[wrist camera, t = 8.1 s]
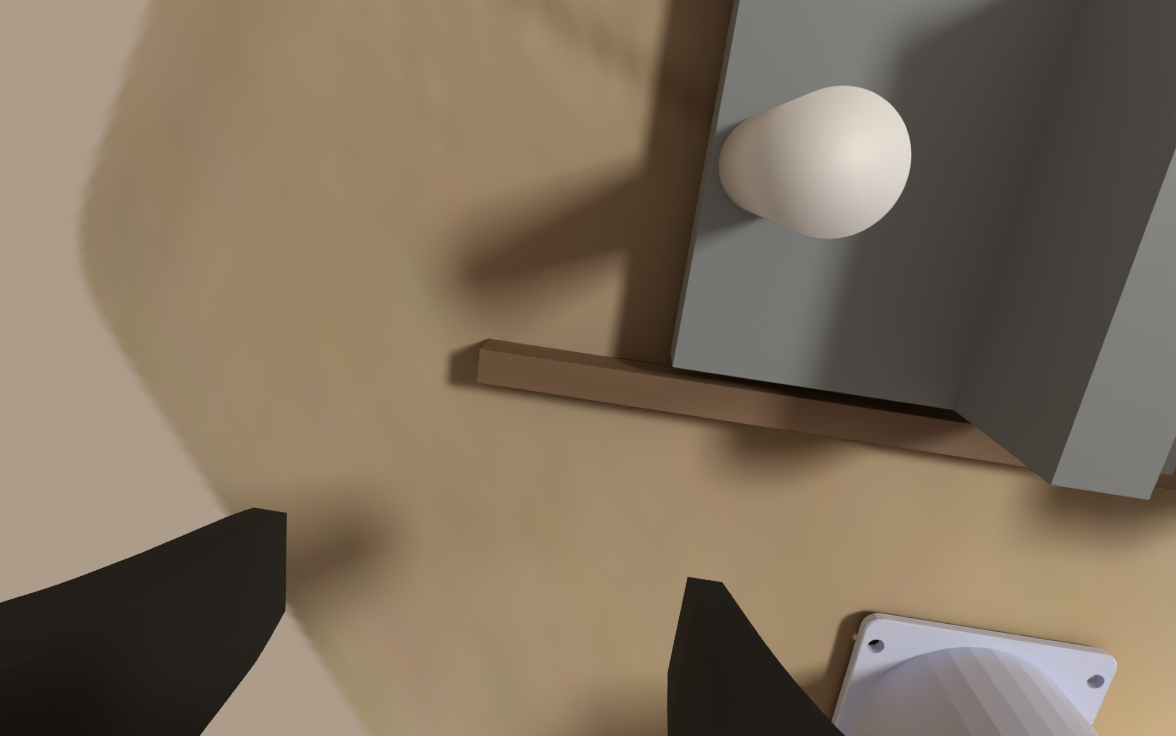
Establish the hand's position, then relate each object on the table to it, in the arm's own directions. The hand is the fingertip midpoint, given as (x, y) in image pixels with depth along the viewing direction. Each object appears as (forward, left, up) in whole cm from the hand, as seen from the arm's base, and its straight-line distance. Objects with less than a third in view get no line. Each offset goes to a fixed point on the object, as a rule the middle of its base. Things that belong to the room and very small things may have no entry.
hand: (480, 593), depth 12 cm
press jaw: (+8, -8, -9) cm, 15 cm away
